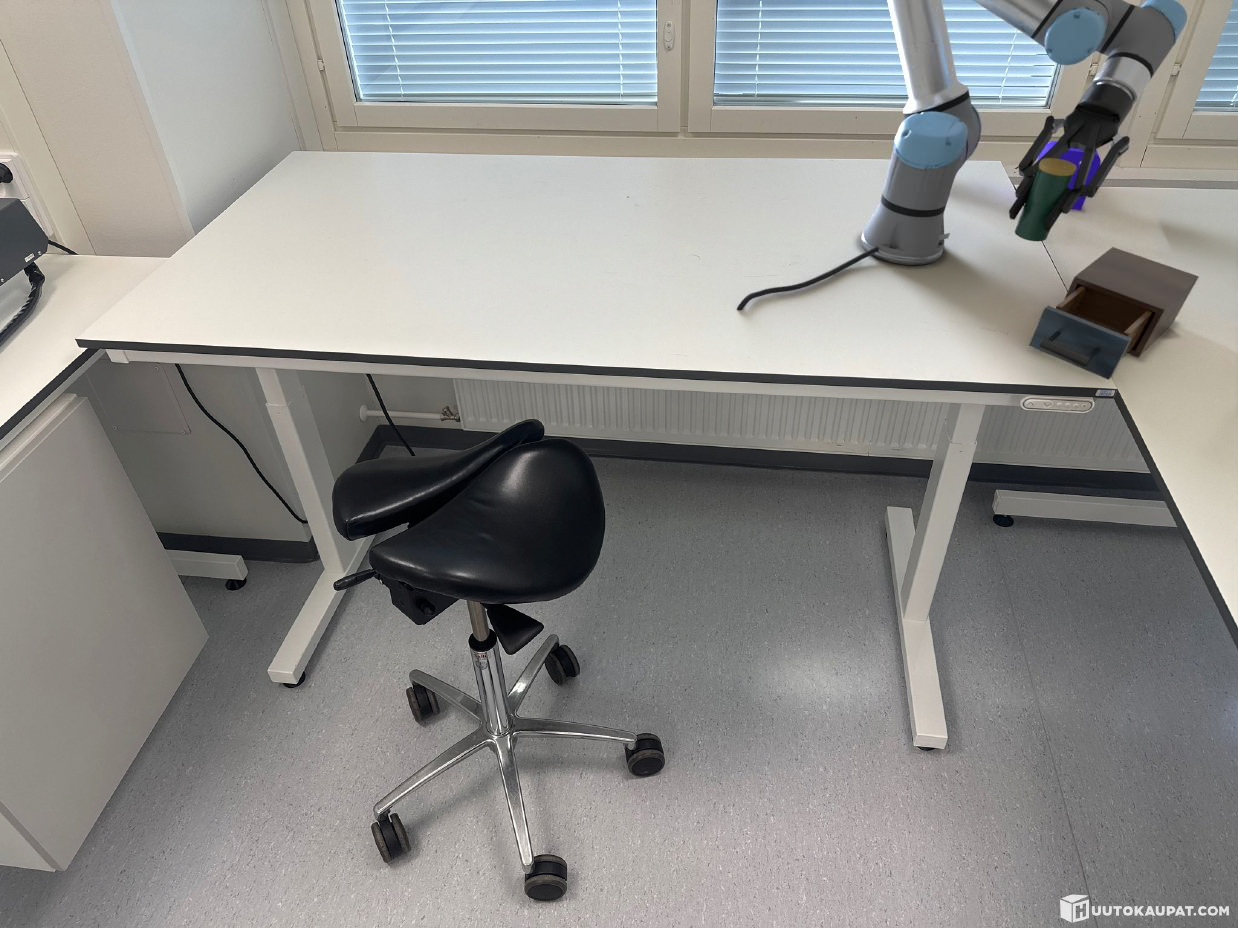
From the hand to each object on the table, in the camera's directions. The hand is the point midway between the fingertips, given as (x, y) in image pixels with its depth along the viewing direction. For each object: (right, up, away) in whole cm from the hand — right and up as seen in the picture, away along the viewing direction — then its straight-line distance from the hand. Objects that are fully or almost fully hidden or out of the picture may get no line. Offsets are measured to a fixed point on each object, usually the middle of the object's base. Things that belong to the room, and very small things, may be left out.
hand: (1028, 221), depth 132 cm
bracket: (+28, +20, +45) cm, 57 cm away
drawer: (+5, -22, -5) cm, 23 cm away
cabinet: (+16, -16, +3) cm, 23 cm away
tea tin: (+3, -1, +4) cm, 5 cm away
